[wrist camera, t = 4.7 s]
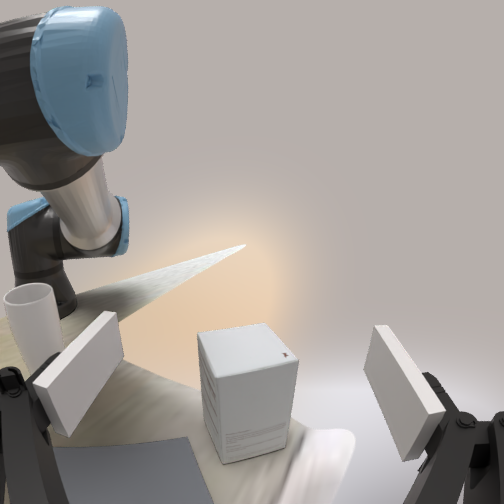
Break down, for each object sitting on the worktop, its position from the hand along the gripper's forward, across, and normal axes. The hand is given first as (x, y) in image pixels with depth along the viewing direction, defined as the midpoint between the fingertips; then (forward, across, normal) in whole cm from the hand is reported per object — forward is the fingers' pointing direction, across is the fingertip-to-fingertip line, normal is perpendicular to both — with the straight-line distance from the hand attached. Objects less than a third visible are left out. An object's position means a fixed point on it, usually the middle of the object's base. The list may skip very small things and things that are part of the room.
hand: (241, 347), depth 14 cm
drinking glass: (+11, -25, -19) cm, 33 cm away
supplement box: (+10, 0, -19) cm, 22 cm away
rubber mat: (-1, -10, -19) cm, 22 cm away
